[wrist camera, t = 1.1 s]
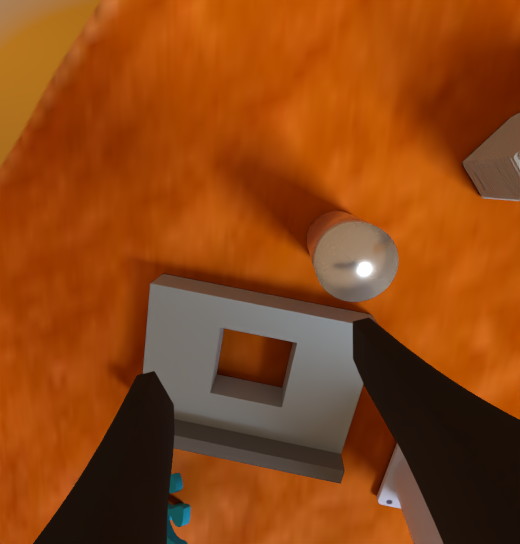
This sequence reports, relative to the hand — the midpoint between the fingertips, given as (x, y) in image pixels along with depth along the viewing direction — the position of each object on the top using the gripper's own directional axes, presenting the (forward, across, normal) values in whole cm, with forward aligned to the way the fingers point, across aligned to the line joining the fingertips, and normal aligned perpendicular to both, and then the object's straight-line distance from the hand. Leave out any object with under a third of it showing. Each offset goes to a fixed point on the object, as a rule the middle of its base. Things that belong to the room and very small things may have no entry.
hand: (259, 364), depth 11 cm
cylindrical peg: (+11, -7, +2) cm, 13 cm away
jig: (+9, +1, +11) cm, 14 cm away
